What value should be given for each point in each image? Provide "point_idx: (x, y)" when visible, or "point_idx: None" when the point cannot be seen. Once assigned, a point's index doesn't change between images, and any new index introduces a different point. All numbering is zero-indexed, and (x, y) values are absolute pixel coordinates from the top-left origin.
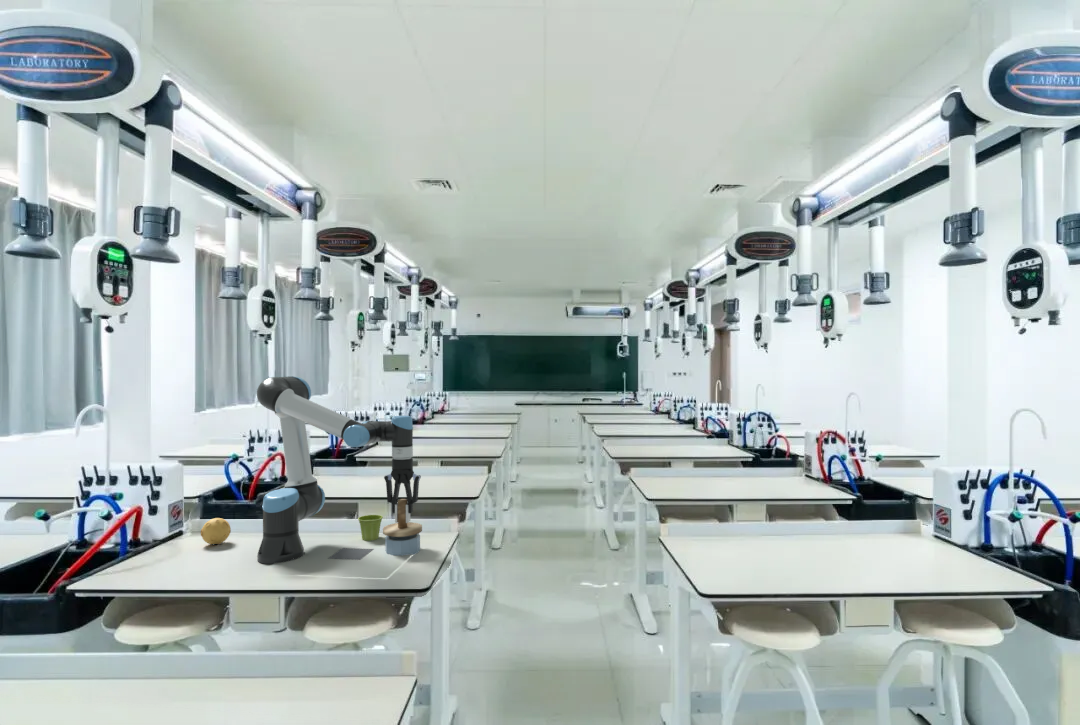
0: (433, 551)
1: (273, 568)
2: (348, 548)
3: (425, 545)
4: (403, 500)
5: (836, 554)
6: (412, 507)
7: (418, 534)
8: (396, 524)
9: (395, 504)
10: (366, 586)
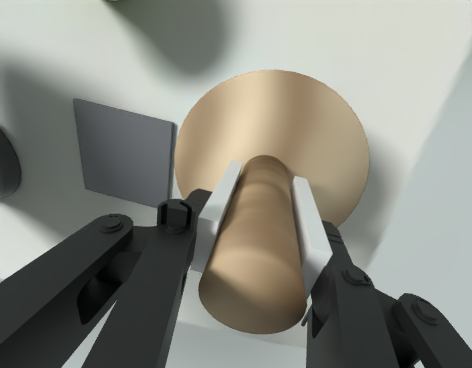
0: (373, 162)
1: (17, 218)
2: (91, 107)
3: (352, 82)
4: (264, 321)
5: None
6: (344, 253)
7: None
8: (224, 116)
9: (191, 260)
10: (223, 325)
